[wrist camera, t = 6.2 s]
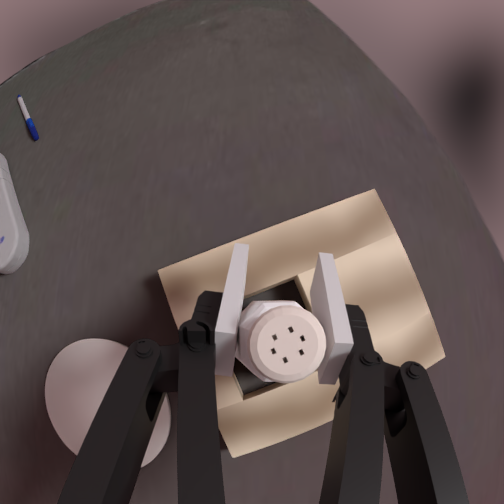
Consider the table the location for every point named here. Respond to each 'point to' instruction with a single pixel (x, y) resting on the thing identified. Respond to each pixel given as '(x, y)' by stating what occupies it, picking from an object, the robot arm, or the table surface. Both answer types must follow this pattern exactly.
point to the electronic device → (11, 225)
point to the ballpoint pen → (28, 119)
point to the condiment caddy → (302, 271)
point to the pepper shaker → (280, 341)
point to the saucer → (90, 392)
